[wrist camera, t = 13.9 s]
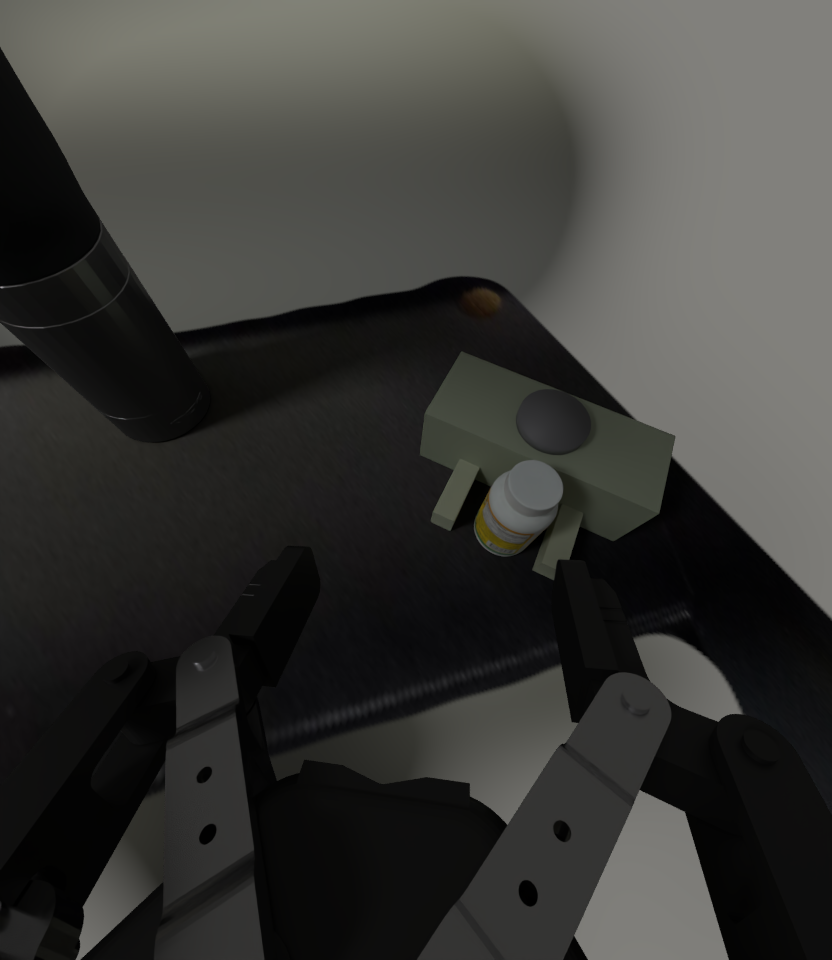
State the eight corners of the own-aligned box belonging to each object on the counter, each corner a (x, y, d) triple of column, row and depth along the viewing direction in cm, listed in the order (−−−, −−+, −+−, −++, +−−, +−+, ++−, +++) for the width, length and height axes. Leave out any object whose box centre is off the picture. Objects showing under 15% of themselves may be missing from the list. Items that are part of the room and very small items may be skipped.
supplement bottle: (489, 566, 35) (521, 530, 26) (463, 514, 37) (484, 465, 28) (541, 544, 36) (587, 503, 27) (513, 495, 38) (548, 442, 29)
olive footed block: (392, 503, 37) (392, 462, 30) (451, 398, 43) (463, 343, 36) (597, 601, 34) (652, 581, 27) (630, 473, 40) (683, 429, 33)
